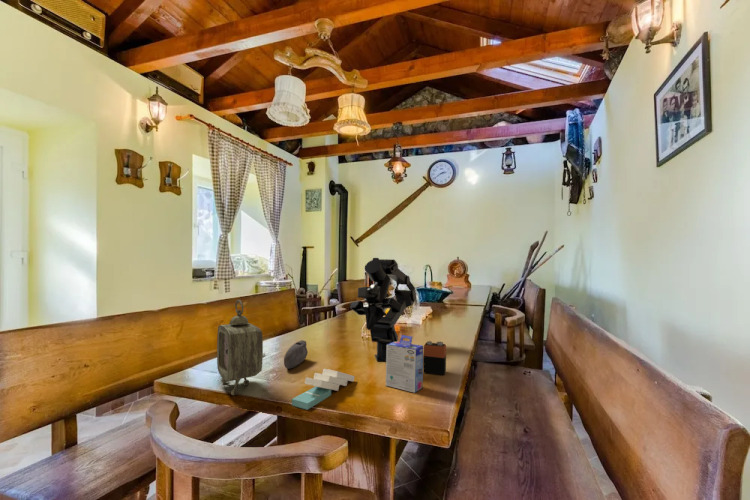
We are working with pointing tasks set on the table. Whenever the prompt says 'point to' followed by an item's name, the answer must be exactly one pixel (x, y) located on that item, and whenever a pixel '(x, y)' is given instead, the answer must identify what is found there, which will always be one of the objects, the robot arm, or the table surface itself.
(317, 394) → the domino
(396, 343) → the ink cartridge box
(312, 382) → the domino
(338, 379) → the domino
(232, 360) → the tabletop clock
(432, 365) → the battery
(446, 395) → the table surface
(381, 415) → the table surface
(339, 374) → the domino
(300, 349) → the perforated stone tool
